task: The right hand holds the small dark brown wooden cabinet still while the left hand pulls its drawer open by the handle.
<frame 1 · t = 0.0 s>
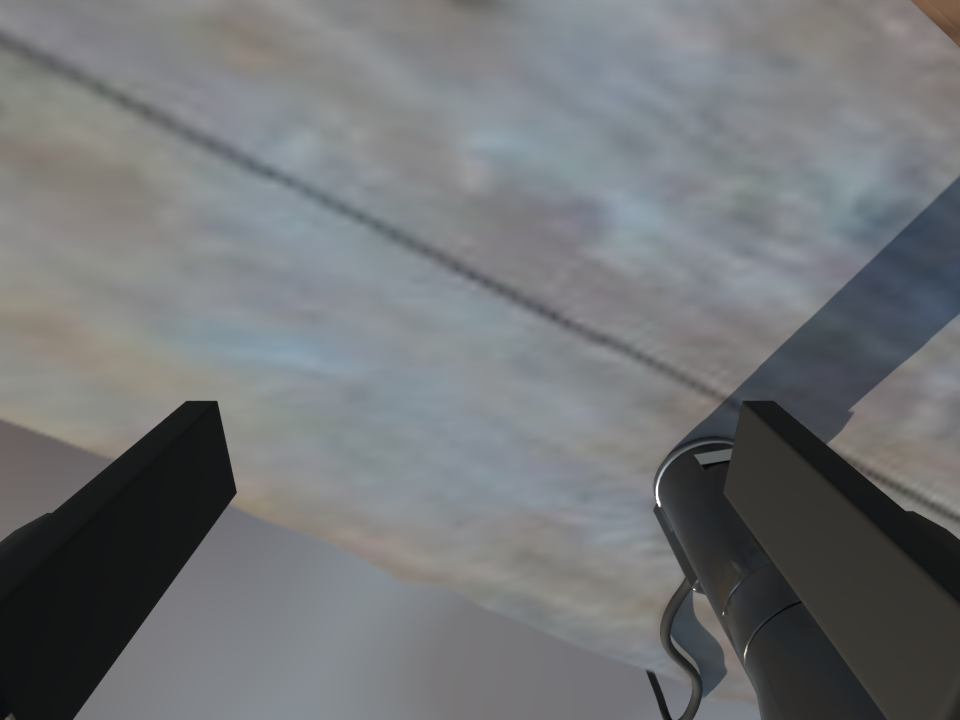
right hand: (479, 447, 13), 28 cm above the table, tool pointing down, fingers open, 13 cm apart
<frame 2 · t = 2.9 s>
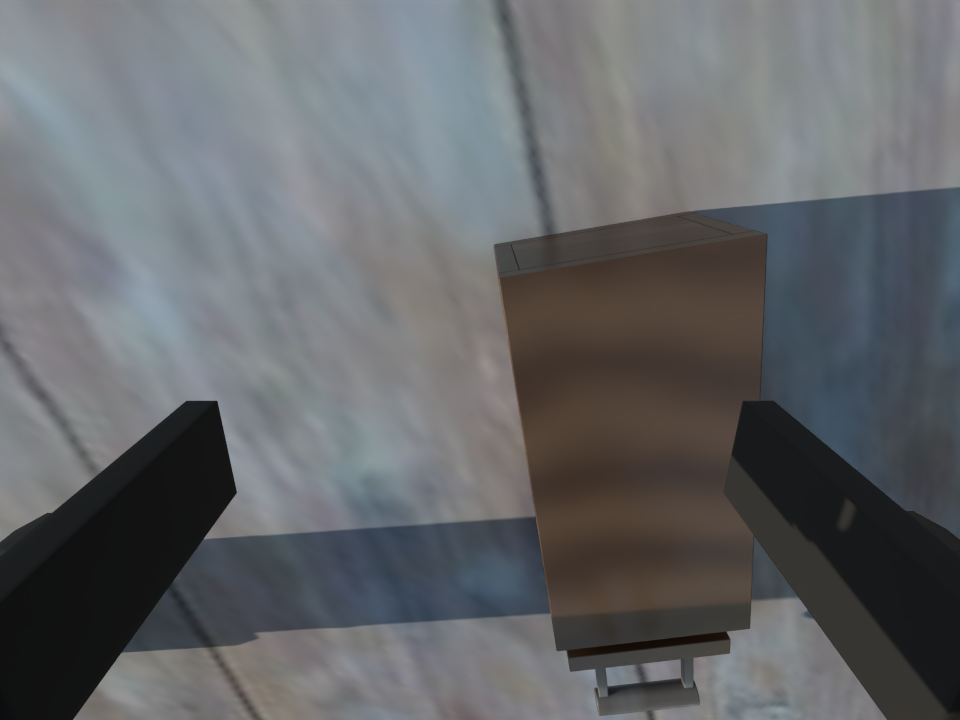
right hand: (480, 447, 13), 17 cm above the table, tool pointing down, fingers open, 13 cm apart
cabinet: (604, 402, 32), on the table
drawer: (628, 532, 31), point 4 cm above the table, slide at 1.9 cm
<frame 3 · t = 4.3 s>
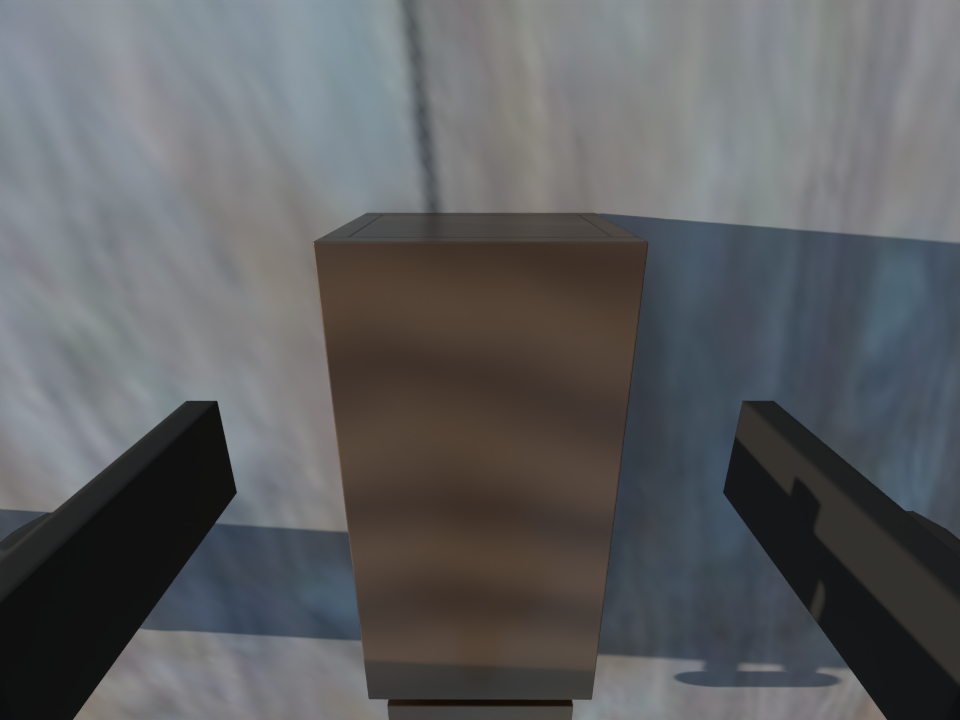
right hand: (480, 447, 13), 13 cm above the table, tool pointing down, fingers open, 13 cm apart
cabinet: (480, 417, 28), on the table
drawer: (480, 570, 27), point 4 cm above the table, slide at 1.9 cm
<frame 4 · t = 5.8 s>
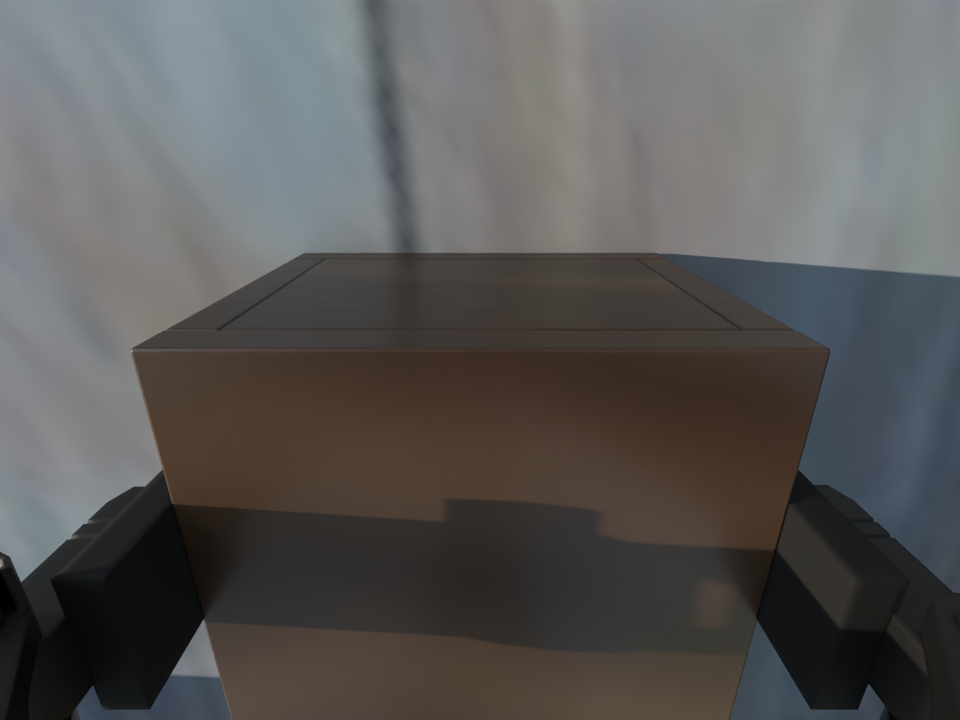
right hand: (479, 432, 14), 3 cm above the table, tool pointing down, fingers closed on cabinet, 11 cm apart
cabinet: (480, 539, 19), on the table, touching right hand
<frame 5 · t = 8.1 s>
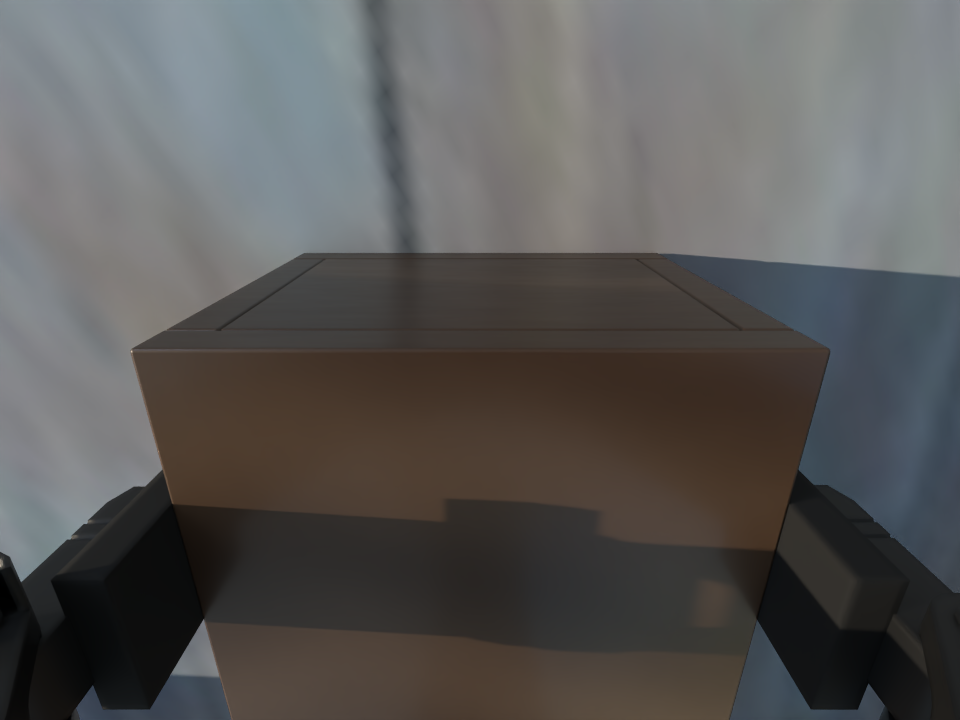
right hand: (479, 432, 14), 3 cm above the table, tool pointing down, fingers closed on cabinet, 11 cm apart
cabinet: (480, 539, 19), on the table, touching right hand
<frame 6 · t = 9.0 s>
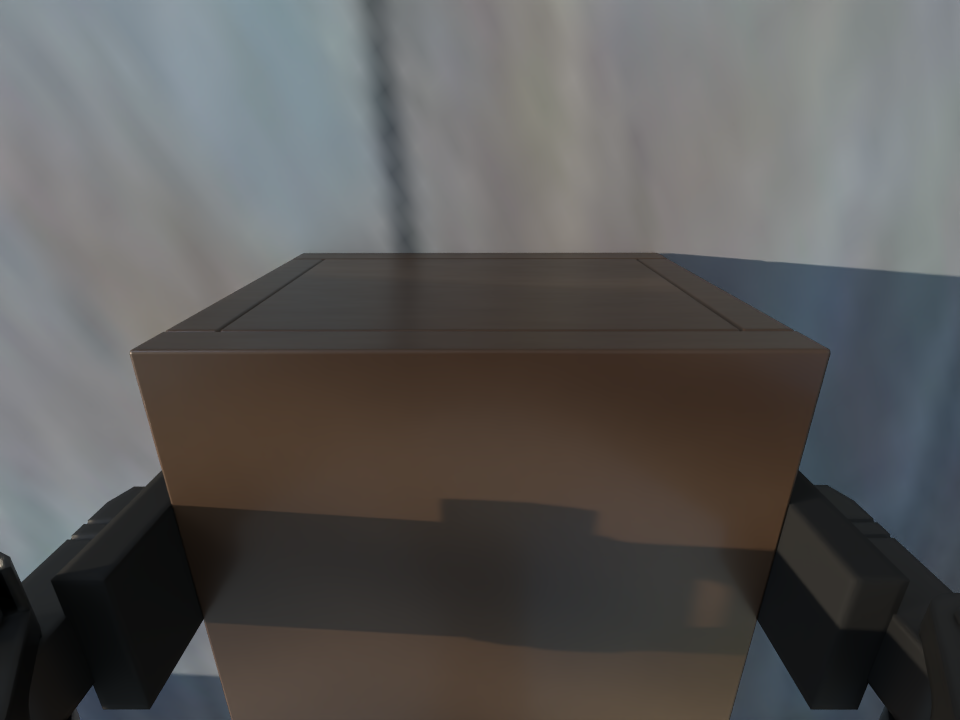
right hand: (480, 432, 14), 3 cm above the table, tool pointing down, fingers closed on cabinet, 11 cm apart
cabinet: (480, 539, 19), on the table, touching right hand
when the right hand's fingers open (3 cm above the table, at t = 11.0 s): cabinet stays where it is, on the table.
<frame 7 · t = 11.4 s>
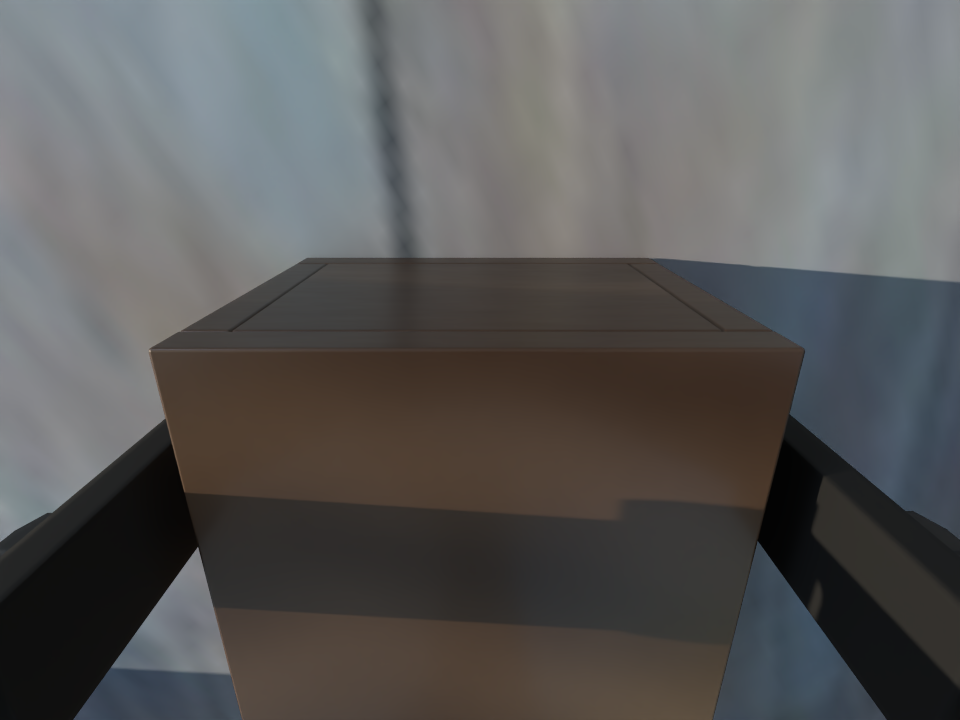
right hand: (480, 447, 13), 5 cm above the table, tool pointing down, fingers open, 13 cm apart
cabinet: (478, 536, 20), on the table
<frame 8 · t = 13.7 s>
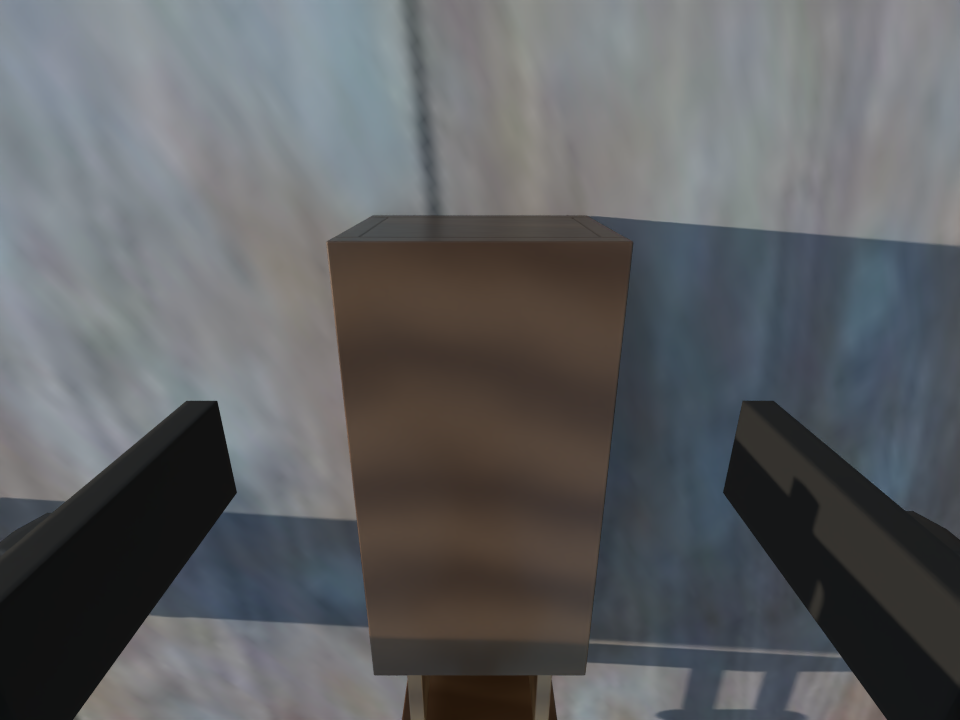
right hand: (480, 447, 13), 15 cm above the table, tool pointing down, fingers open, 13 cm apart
cabinet: (479, 409, 29), on the table
drawer: (479, 629, 30), point 4 cm above the table, slide at 7.6 cm
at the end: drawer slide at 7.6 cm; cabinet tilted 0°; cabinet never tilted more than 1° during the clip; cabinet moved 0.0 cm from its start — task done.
